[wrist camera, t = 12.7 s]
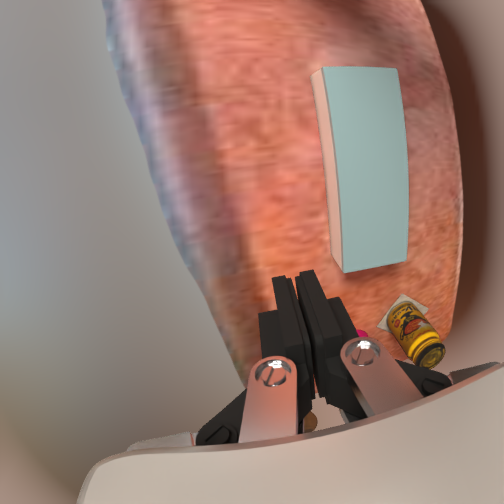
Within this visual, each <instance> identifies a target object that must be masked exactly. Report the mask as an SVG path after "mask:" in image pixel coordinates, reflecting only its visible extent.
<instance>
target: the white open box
mask: <svg viewBox="0 0 504 504" xmlns="http://www.w3.org/2000/svg"><path fill="white" fill-rule="evenodd" d="M310 79H311V84H312V90H313V96H314V102H315V108H316V114H317V121H318V128H319V135H320V143H321V150H322V159H323V167H324V176H325V186H326V196H327V208H328V220H329V234H330V250H331V255H332V256H333V258H334V259H335V261H336V262H337V264H338V265H339V267H340V268H341V270H342V261H341V236H340V218H339V204H338V191H337V180H336V170H335V160H334V151H333V143H332V135H331V128H330V120H329V114H328V107H327V101H326V94H325V88H324V83H323V77H322V72H321V69H319V70H318V71H316V72H315V73H314V74H312V75H311V76H310Z"/></svg>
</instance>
